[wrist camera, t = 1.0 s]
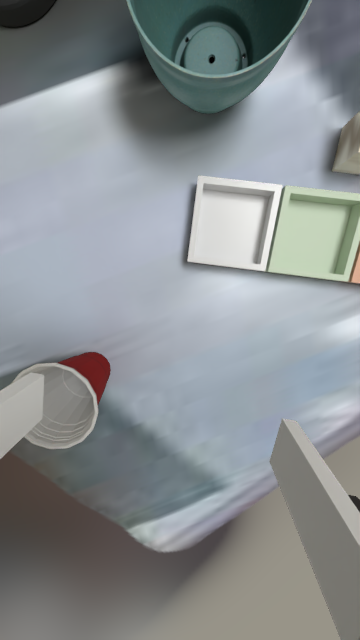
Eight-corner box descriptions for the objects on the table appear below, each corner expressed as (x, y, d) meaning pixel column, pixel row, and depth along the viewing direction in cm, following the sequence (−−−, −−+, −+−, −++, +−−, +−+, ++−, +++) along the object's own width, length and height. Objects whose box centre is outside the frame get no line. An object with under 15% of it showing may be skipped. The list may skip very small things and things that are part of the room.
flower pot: (302, 26, 27) (371, -133, 16) (238, 166, 30) (262, 109, 20) (178, -37, 26) (168, -242, 16) (128, 113, 30) (92, 26, 19)
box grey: (198, 183, 31) (198, 175, 29) (275, 191, 31) (282, 185, 28) (187, 262, 33) (187, 261, 31) (260, 271, 33) (265, 271, 31)
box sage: (278, 192, 31) (285, 185, 28) (357, 201, 30) (372, 195, 28) (262, 271, 33) (268, 271, 31) (336, 280, 33) (348, 281, 30)
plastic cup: (137, 356, 37) (111, 395, 25) (109, 407, 39) (73, 464, 28) (78, 323, 36) (23, 348, 25) (53, 376, 39) (-9, 422, 27)
